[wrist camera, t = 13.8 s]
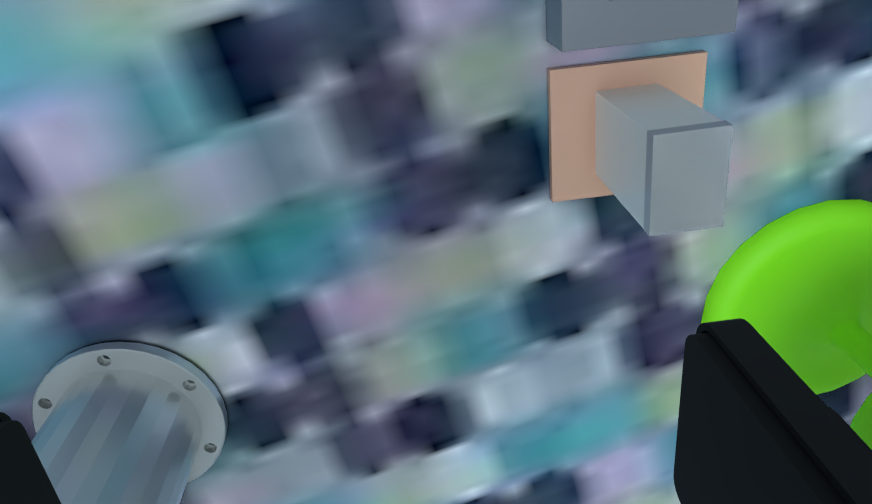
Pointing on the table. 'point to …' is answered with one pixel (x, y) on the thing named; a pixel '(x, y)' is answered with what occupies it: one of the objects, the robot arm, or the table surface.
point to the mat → (577, 111)
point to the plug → (662, 158)
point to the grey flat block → (634, 21)
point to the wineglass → (808, 294)
